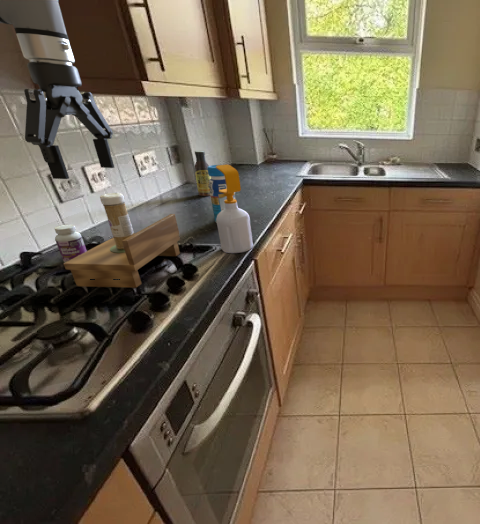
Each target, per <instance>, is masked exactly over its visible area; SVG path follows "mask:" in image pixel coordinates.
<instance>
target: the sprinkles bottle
mask: <svg viewBox="0 0 480 524" xmlns="http://www.w3.org/2000/svg"><path fill="white" fill-rule="evenodd" d="M99 199H100V202H101V205H102V206H103V209H104V211H105V214H106V217H107V221H108V224H109V228H110V231H111V235H112V238H114V240H115V243H116V248H117V249H124V246H123V243H122V240H124V239H126V238H128V237H130V236H131V235H133V234H134V233H135V232H134V229H133V225H132V222H131V217H130V215H129V213H128V209H127V206H126V203H125V202H126V200H125V196H124V194H123V193H121V192H110V193H104V194H101V195H100V196H99Z"/></svg>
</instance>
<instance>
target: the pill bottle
mask: <svg viewBox="0 0 480 524" xmlns="http://www.w3.org/2000/svg"><path fill="white" fill-rule="evenodd" d="M54 231H55V233H56V235H55V236H54V241H55V244H56V246H57V248H58V251H59V253H60V256H61V258H62V260H63V263H65V262H67V261H69V260H71V259H73V258H75V257H77V256H79V255H81V254H83V253H85V252H87V251H88V250H87V247H86V245H85V241H84V239H83V237H82V234H81V233H80V232H78V231H77V228H76V226H75V225H74V224H61V225H57V226H55V227H54Z"/></svg>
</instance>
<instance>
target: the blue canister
mask: <svg viewBox="0 0 480 524" xmlns="http://www.w3.org/2000/svg"><path fill="white" fill-rule="evenodd" d="M218 165H219V164H212V165H211V164H210V165H209V166H208V168H207V169H208V174H209V176H210V177H211V179H210V181H209V185H208V187H209V189H210V192H209V194H210V196H209V197H210V202H211V207H212V212H213V219H214V222H215V223H216V224H217V221H216V218H217V215H218V214H219V213H220V212H221V211H222V210H224V209H225V202H224V200H227V196H225V195H224V193H221V192H219V190H222V189H227V187H226V180H225V176H224V174H223V173H222V172H221V171H219V170H218V169H217V168H216V166H218ZM234 194H235V195H233V199H236V192H234Z"/></svg>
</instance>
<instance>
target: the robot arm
mask: <svg viewBox="0 0 480 524" xmlns="http://www.w3.org/2000/svg"><path fill="white" fill-rule="evenodd" d="M0 24H5V25H12V26H13V29H14V32H15V35H16V39H17V40H18V44H19V47H20V50H21V53H22V56H23V58H24V59H26V60H28V61H29V62H27V64H26V67H27V69H28V73H29V75H30V79H31V81H32V83H34V84H35V85H38V87H39V89H37V88H36V89H35V88H24V91H23V92H24V96H25V99H26V109H25V110H26V112H25V113H26V114H25V130H24V140H25V142H26V143H29V144H30V143H31V144H32V145H33V146H37V147H39V150H40V152H41V156H42V158H43V160H44V162H45V163H47V167H48V169H49V172H50V175H51V177H52V180H53V179H54V180H69V179H70V176H69V172H68V170H67V167H66V164H65V161H64V158H63V155H62V152H61V150H60V149H61V148H60V147H59V145H55V144H54V143H55V140H56V137H57V134H58V130H59V127H60V125H61V122H62V118H64V117H65V116H74V117H75V118H76V119H77V120H78V121H79V122H80V123H81V124H82V125H83V126H84V127H85V128H86V129H87V131H89V133H91V135H92V136H93V137H94V138H92V142H93V145H94V149H95V151H96V156H97V159H98V162H99V165H100V168H102V169H103V168H104V169H114V168H115V165H114V161H113V157H112V154H111V148H110V144H109V140H111V139H113V136H114V132H113V130H112V128H111V126H110V125H109V123H108V122H107V120H106V118H105V117H104V115H103V114H102V112H101V110H100V108H99V107H98V105H97V104H96V101H95V99H94V96H93V93H91V92H90V91H79V87H82V80H81V77H80V73H79V69H78V67H76V66H74V65H73V64H75V62H76V60H75V57H74V53H73V51H72V47H71V44H70V40H69V36H68V33H67V29H66V26H65V21H64V18H63V14H62V10H61V7H60V4H59V0H0Z"/></svg>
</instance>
